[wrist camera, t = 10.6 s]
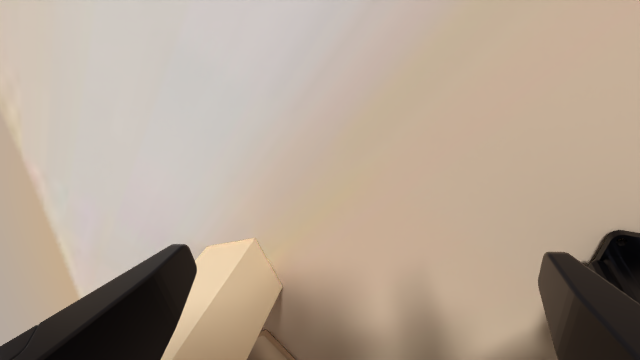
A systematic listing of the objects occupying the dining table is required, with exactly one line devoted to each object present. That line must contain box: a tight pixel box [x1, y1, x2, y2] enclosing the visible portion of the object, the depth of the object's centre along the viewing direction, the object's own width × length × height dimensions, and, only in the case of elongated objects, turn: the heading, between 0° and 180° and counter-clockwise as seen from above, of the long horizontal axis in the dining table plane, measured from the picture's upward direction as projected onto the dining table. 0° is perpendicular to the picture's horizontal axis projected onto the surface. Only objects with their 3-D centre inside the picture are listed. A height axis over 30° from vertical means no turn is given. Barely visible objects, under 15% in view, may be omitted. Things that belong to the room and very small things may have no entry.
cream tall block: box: [161, 238, 283, 360], centre depth 25 cm, size 5×5×11 cm
